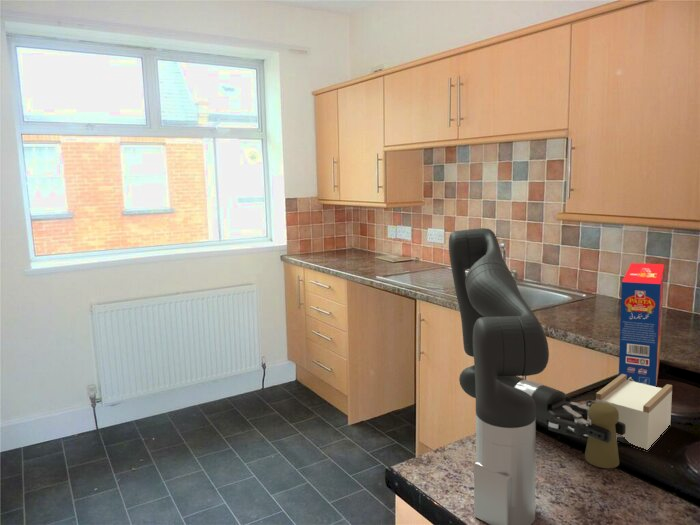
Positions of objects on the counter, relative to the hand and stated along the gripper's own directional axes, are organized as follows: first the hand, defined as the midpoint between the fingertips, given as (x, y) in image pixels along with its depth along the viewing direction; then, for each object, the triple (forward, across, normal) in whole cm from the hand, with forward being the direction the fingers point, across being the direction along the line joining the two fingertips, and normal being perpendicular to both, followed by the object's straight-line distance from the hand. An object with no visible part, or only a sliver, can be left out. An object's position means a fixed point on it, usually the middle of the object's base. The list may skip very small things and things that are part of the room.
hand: (617, 433), depth 94 cm
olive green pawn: (-3, 0, +7) cm, 7 cm away
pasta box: (-21, +47, +7) cm, 51 cm away
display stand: (-6, +16, +7) cm, 18 cm away
